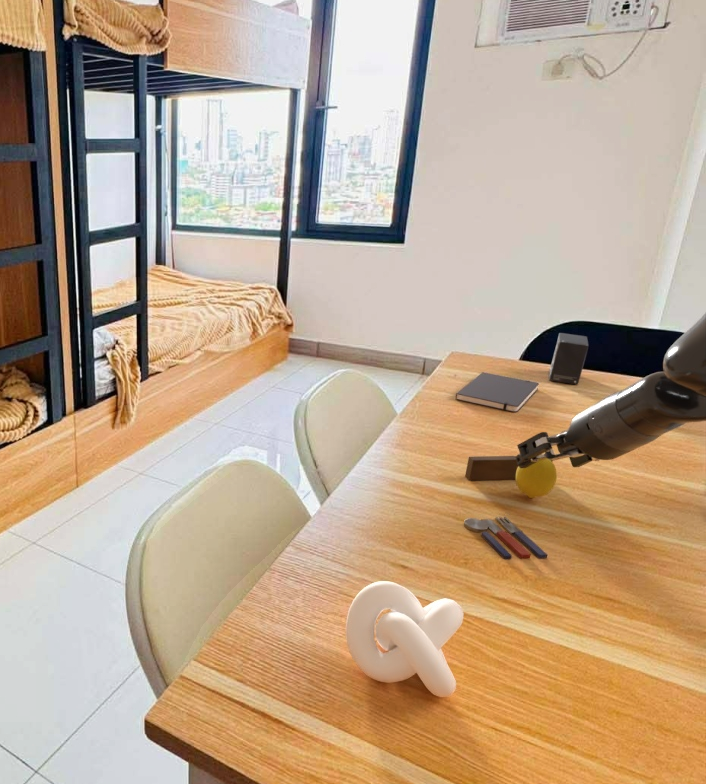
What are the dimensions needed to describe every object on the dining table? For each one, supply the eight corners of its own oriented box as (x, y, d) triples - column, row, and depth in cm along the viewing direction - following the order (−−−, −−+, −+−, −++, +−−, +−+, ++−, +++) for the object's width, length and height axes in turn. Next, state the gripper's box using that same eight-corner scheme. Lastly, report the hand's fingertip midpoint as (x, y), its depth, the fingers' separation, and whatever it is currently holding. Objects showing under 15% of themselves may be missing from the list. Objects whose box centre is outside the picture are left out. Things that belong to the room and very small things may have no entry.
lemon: (554, 508, 101) (565, 464, 98) (514, 503, 103) (525, 459, 100) (545, 492, 106) (556, 449, 103) (508, 487, 108) (517, 445, 105)
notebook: (481, 377, 162) (455, 399, 147) (482, 371, 161) (456, 393, 147) (538, 388, 154) (516, 413, 139) (539, 382, 153) (517, 406, 138)
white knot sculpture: (491, 713, 64) (508, 642, 61) (377, 721, 63) (389, 651, 60) (430, 634, 74) (443, 571, 71) (332, 641, 73) (340, 577, 70)
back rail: (542, 475, 111) (547, 455, 110) (548, 479, 110) (553, 458, 109) (464, 476, 111) (468, 456, 110) (469, 480, 110) (473, 460, 109)
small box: (579, 385, 155) (590, 345, 152) (548, 381, 159) (557, 341, 155) (578, 374, 163) (588, 335, 160) (548, 370, 167) (557, 332, 163)
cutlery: (549, 558, 88) (550, 554, 88) (496, 559, 88) (497, 555, 88) (505, 519, 98) (506, 515, 98) (458, 519, 98) (458, 515, 98)
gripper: (660, 398, 87) (582, 439, 102) (558, 399, 87) (495, 440, 102) (681, 449, 84) (598, 483, 99) (576, 450, 84) (508, 485, 99)
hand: (546, 461), depth 100 cm, fingers open, 8 cm apart
